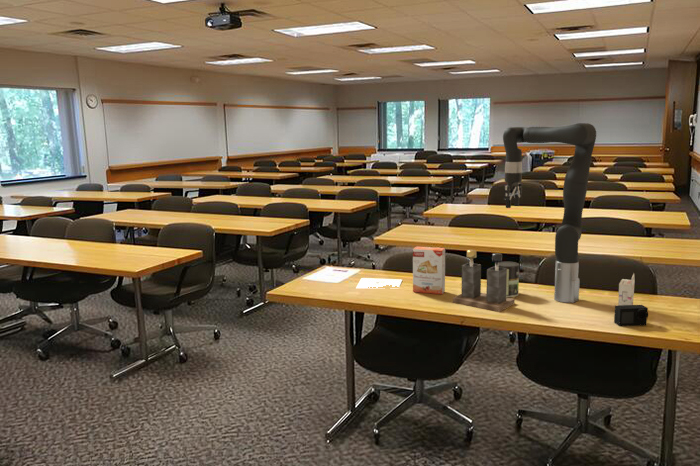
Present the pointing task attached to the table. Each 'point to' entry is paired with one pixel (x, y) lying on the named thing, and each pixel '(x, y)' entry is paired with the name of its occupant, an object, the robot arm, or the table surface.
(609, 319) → the table surface
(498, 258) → the plunger black
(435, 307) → the table surface
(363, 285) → the paper sheet
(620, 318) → the digital camera
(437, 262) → the cracker box
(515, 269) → the coffee can
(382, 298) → the table surface
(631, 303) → the ink cartridge box
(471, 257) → the plunger brass
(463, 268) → the stand
